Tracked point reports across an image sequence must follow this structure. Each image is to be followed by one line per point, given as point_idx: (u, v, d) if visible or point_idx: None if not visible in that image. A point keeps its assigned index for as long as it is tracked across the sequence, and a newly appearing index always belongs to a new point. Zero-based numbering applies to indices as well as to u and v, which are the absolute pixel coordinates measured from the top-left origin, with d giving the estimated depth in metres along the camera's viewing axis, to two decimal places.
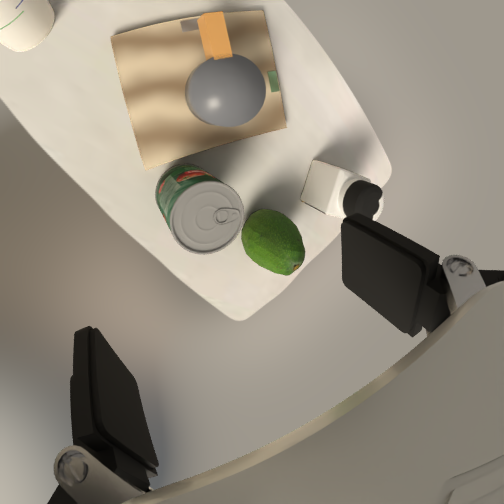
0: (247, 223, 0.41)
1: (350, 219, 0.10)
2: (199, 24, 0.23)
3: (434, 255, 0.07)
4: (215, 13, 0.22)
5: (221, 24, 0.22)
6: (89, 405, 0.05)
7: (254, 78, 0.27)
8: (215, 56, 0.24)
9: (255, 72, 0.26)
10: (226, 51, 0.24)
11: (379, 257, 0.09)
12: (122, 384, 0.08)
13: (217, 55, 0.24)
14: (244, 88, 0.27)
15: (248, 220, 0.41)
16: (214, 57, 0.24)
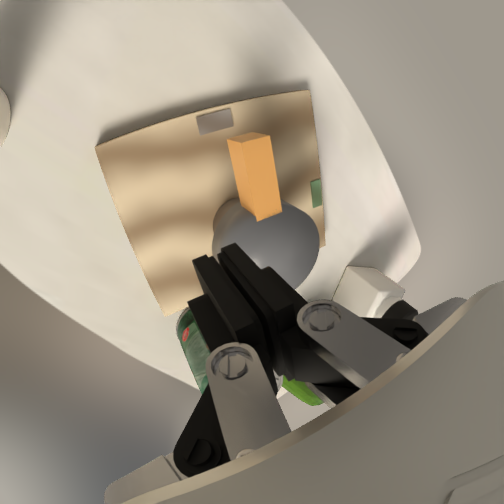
0: None
1: (223, 251, 0.10)
2: (231, 149, 0.19)
3: (287, 301, 0.07)
4: (259, 141, 0.17)
5: (267, 160, 0.18)
6: (238, 305, 0.07)
7: (306, 236, 0.23)
8: (258, 215, 0.20)
9: (309, 227, 0.22)
10: (273, 205, 0.20)
11: None
12: None
13: (261, 213, 0.20)
14: (293, 252, 0.23)
15: None
16: (256, 217, 0.20)
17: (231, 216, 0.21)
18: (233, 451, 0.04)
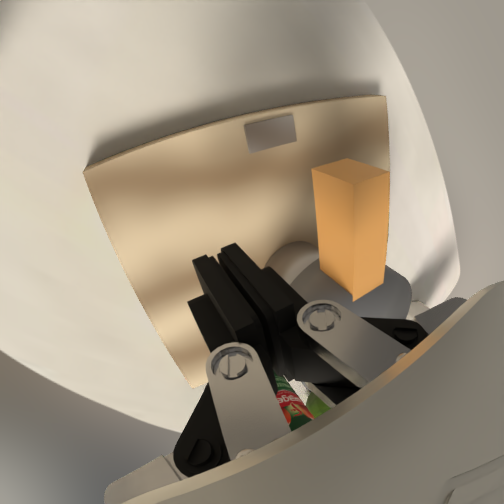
0: (318, 405, 0.29)
1: (223, 251, 0.10)
2: (319, 187, 0.12)
3: (287, 301, 0.07)
4: (376, 180, 0.10)
5: (382, 212, 0.11)
6: (238, 304, 0.07)
7: (399, 306, 0.15)
8: (356, 294, 0.12)
9: (404, 295, 0.15)
10: (376, 276, 0.12)
11: None
12: None
13: (360, 290, 0.12)
14: None
15: (319, 400, 0.29)
16: (353, 296, 0.12)
17: (307, 287, 0.14)
18: (233, 451, 0.04)
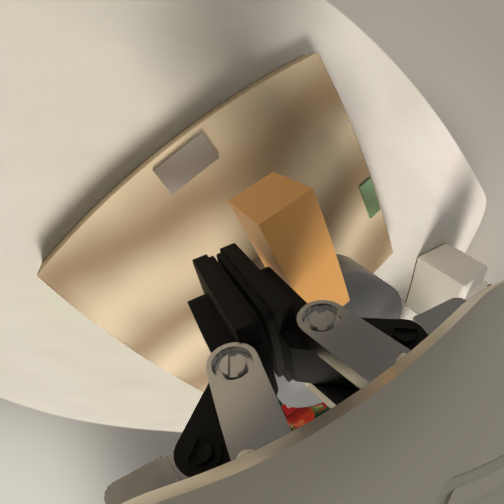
0: None
1: (222, 251, 0.10)
2: (241, 220, 0.10)
3: (286, 301, 0.07)
4: (294, 207, 0.09)
5: (317, 235, 0.09)
6: (239, 304, 0.07)
7: (385, 310, 0.14)
8: None
9: (388, 299, 0.13)
10: (336, 298, 0.11)
11: None
12: None
13: None
14: None
15: None
16: None
17: None
18: (233, 451, 0.04)
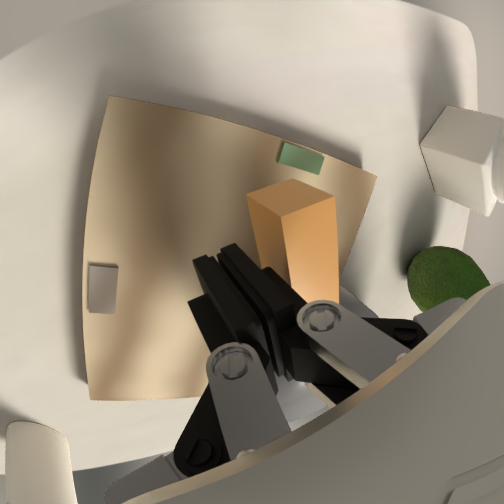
0: (416, 298, 0.27)
1: (223, 251, 0.10)
2: (254, 215, 0.10)
3: (287, 301, 0.07)
4: (315, 209, 0.09)
5: (327, 243, 0.10)
6: (238, 305, 0.07)
7: None
8: None
9: None
10: None
11: None
12: None
13: None
14: None
15: (414, 292, 0.27)
16: None
17: None
18: (233, 451, 0.04)
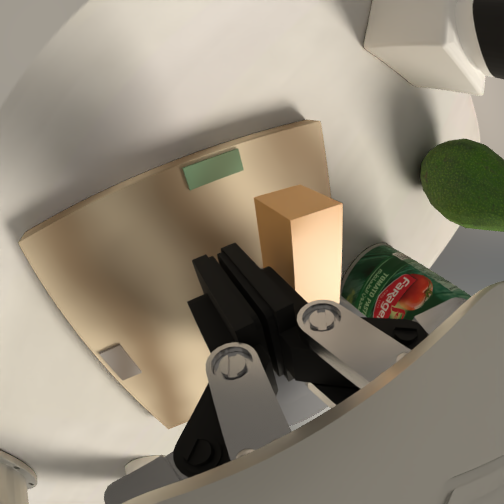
0: (439, 211, 0.22)
1: (223, 251, 0.10)
2: (261, 218, 0.11)
3: (287, 301, 0.07)
4: (323, 215, 0.09)
5: (332, 250, 0.10)
6: (238, 304, 0.07)
7: None
8: None
9: None
10: None
11: None
12: None
13: None
14: None
15: (434, 205, 0.22)
16: None
17: None
18: (233, 451, 0.04)
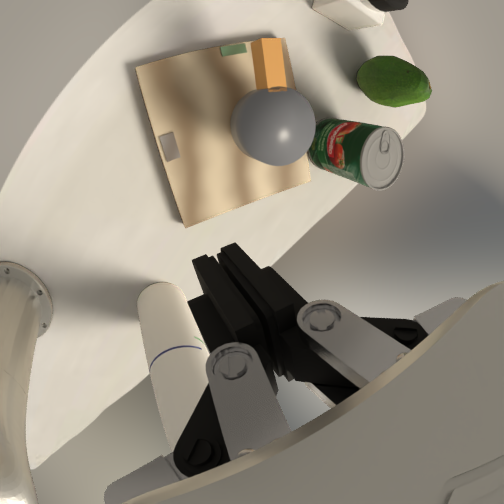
0: (370, 97, 0.35)
1: (223, 250, 0.10)
2: (253, 48, 0.23)
3: (287, 301, 0.07)
4: (273, 39, 0.22)
5: (278, 53, 0.23)
6: (238, 305, 0.07)
7: (305, 116, 0.27)
8: (269, 88, 0.24)
9: (307, 109, 0.26)
10: (281, 84, 0.24)
11: None
12: None
13: (271, 87, 0.24)
14: (294, 126, 0.27)
15: (366, 94, 0.35)
16: (268, 89, 0.24)
17: (248, 94, 0.26)
18: (233, 451, 0.04)
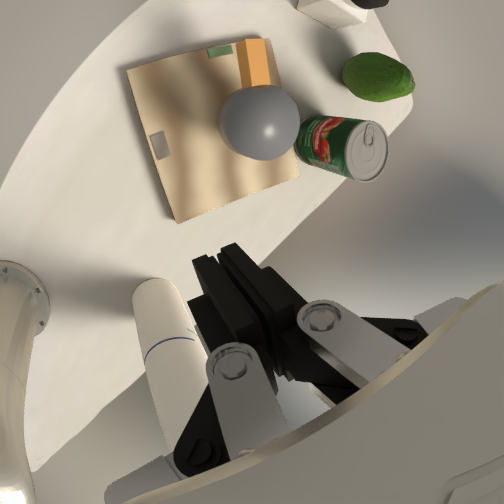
0: (355, 93, 0.36)
1: (223, 251, 0.10)
2: (238, 49, 0.24)
3: (287, 301, 0.07)
4: (256, 40, 0.23)
5: (262, 52, 0.24)
6: (238, 305, 0.07)
7: (289, 112, 0.28)
8: (254, 86, 0.25)
9: (291, 106, 0.28)
10: (265, 82, 0.25)
11: None
12: None
13: (256, 85, 0.25)
14: (279, 122, 0.28)
15: (351, 90, 0.36)
16: (252, 87, 0.25)
17: (234, 93, 0.27)
18: (233, 451, 0.04)
